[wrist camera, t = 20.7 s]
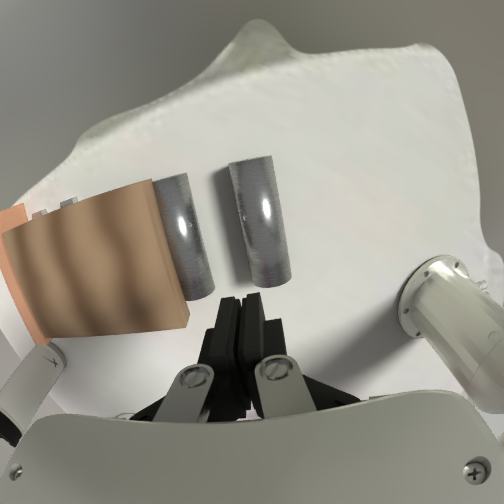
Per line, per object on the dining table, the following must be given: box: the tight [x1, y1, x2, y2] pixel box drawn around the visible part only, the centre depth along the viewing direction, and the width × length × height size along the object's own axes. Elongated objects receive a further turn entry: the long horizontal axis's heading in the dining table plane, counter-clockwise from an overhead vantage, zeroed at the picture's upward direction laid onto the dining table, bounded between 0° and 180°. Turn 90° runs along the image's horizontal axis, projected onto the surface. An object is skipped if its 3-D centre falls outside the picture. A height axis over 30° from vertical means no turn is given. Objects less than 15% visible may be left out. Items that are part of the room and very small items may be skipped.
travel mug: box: [0, 342, 66, 447], centre depth 26 cm, size 6×7×20 cm
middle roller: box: [152, 173, 215, 301], centre depth 27 cm, size 4×12×4 cm, turn 11°
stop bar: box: [0, 203, 52, 345], centre depth 28 cm, size 2×18×6 cm, turn 11°
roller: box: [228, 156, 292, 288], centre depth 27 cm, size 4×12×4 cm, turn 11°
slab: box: [2, 179, 190, 338], centre depth 25 cm, size 20×14×2 cm
